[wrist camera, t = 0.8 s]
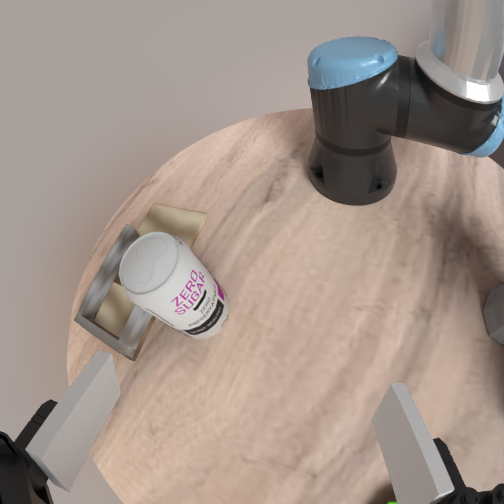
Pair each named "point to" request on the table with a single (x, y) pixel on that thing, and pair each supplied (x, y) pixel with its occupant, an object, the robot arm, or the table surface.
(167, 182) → the table surface
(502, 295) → the coffeepot
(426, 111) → the robot arm
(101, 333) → the rectangular tray
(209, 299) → the supplement can
